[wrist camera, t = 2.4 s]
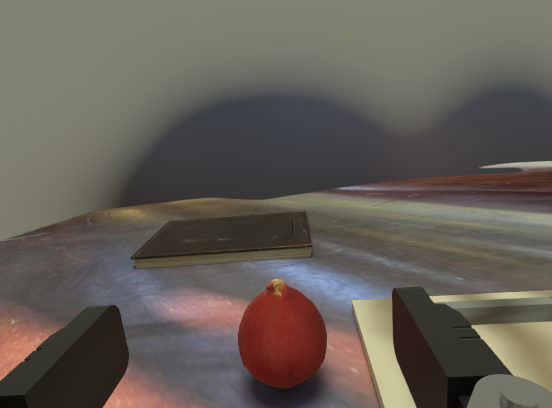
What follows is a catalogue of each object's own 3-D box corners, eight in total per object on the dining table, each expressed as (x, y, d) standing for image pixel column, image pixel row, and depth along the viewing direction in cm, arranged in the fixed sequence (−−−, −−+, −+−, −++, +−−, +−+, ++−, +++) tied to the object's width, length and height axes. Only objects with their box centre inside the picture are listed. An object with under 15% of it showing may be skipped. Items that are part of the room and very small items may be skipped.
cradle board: (419, 539, 15) (420, 495, 15) (352, 310, 33) (351, 285, 32) (945, 535, 14) (971, 486, 13) (583, 299, 31) (587, 272, 31)
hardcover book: (313, 261, 45) (311, 244, 44) (133, 273, 46) (130, 257, 46) (306, 222, 60) (305, 209, 60) (172, 232, 62) (169, 219, 61)
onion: (254, 355, 28) (243, 259, 26) (329, 357, 27) (324, 258, 25) (234, 417, 22) (218, 301, 20) (328, 423, 21) (321, 302, 19)
